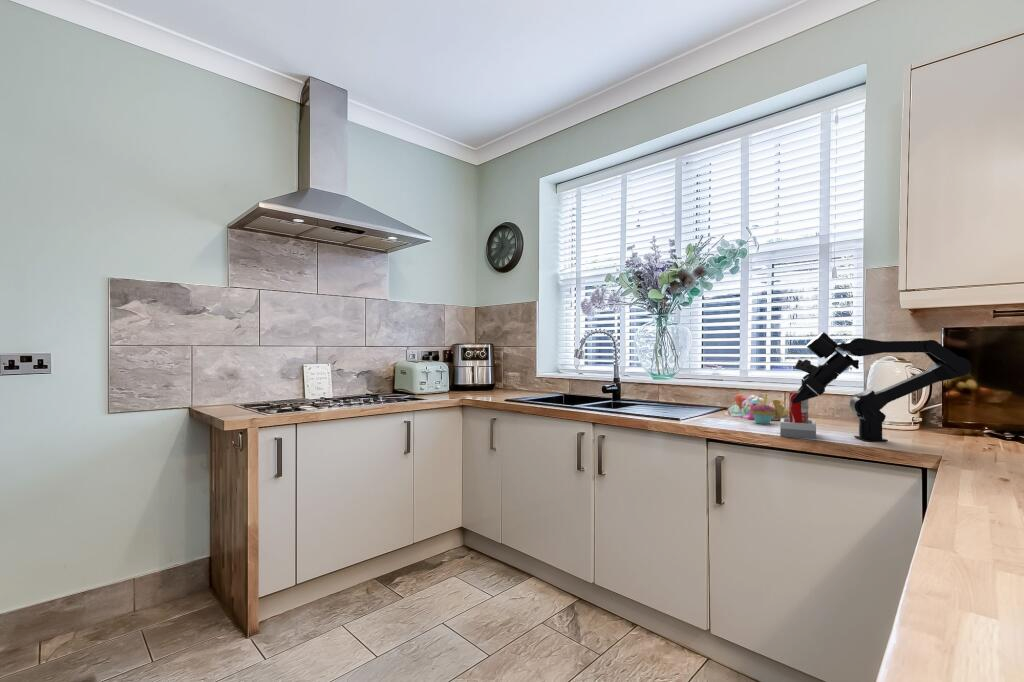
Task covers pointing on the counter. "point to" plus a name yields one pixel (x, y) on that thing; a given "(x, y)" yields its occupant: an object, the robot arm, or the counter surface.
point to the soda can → (797, 409)
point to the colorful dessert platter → (750, 402)
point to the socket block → (798, 429)
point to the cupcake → (762, 412)
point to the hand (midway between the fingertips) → (792, 401)
